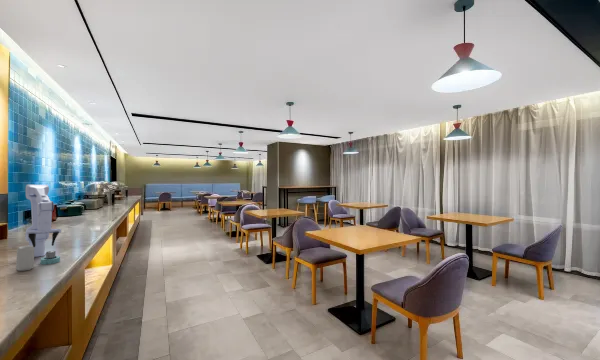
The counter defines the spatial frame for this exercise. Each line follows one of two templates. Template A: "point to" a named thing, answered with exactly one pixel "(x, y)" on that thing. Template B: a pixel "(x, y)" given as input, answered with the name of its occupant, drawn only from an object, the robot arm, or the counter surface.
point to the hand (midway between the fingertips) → (43, 246)
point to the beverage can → (25, 258)
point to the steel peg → (50, 254)
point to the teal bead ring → (50, 260)
